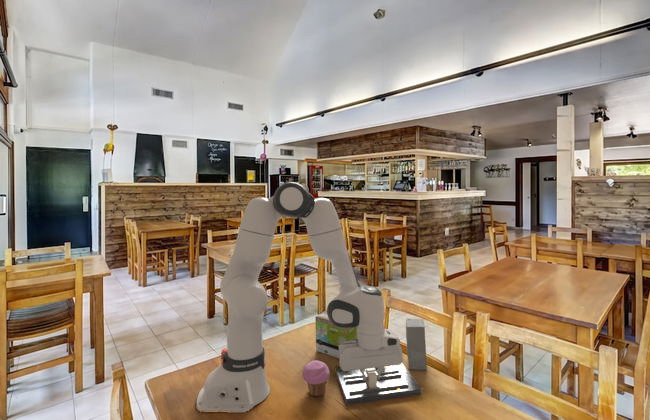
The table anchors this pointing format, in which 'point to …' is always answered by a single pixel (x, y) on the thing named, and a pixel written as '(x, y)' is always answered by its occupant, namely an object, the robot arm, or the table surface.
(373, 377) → the fader knob
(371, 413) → the table surface
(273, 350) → the table surface
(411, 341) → the skincare box
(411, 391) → the console
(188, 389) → the table surface
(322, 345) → the tea box
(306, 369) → the cupcake
